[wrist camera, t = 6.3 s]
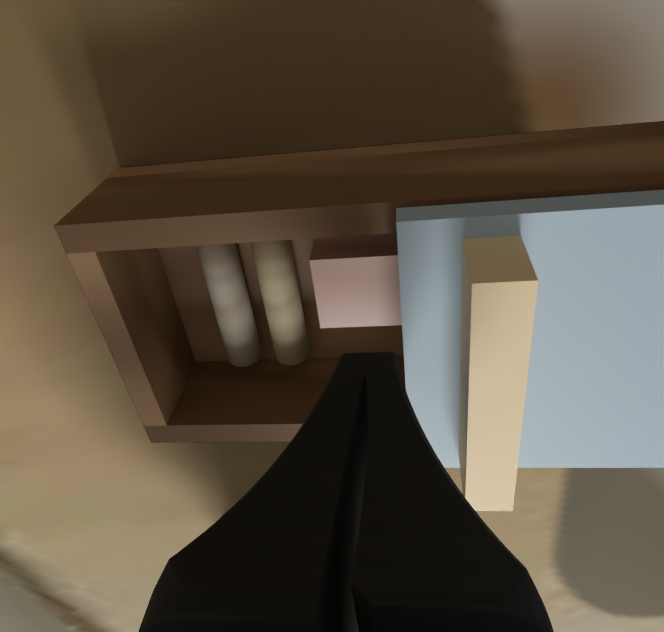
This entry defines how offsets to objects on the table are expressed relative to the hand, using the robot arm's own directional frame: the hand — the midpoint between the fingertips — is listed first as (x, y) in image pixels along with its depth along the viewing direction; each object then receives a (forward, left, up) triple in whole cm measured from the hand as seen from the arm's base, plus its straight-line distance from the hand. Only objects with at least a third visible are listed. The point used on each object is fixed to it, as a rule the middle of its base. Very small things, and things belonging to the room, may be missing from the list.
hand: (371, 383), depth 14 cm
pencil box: (0, 0, -6) cm, 6 cm away
